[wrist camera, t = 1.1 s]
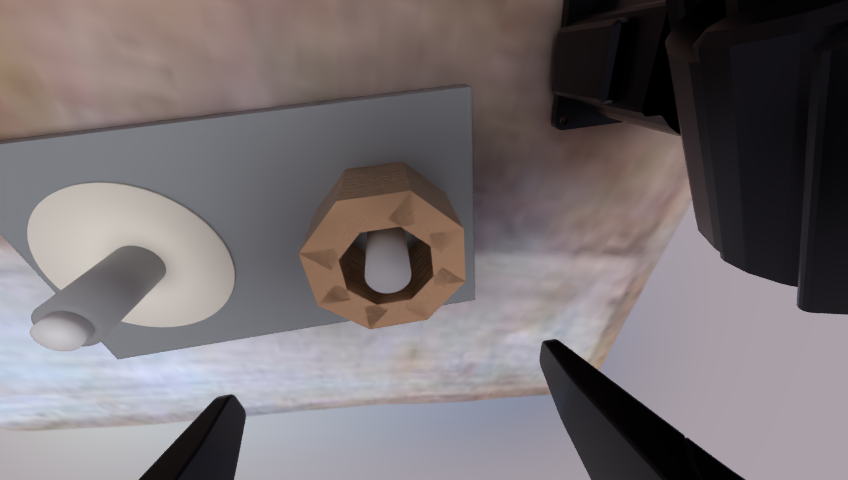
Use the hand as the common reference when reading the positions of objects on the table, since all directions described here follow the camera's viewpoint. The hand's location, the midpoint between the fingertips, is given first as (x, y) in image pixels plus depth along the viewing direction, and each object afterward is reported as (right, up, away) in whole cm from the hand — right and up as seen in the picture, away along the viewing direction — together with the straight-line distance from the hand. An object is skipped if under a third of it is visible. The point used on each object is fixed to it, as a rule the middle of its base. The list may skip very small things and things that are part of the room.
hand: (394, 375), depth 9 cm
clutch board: (-8, +4, +9) cm, 13 cm away
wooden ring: (-1, +5, +8) cm, 10 cm away
